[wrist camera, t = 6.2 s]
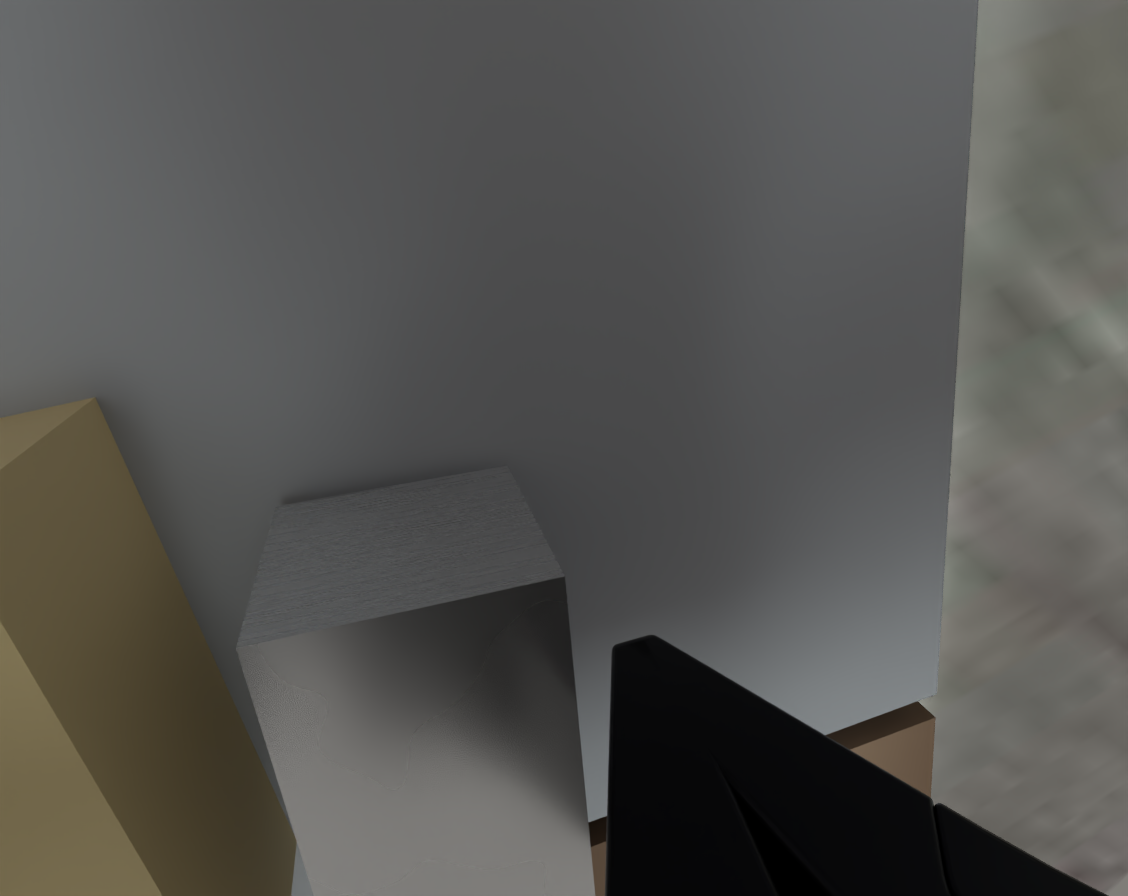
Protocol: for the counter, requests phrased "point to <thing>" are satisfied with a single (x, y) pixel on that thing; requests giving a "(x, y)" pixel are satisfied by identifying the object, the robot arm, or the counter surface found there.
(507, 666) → the bar
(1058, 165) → the counter surface
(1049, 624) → the counter surface
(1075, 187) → the counter surface
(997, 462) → the counter surface
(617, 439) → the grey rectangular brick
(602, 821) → the jamb block
